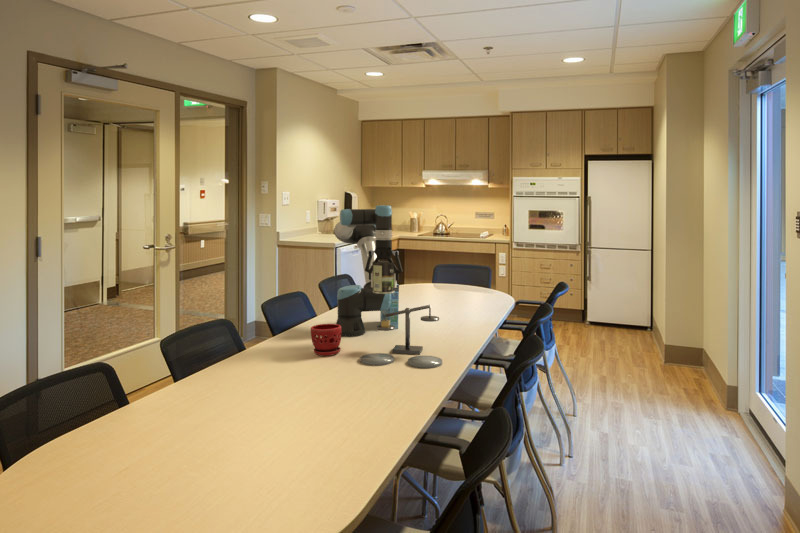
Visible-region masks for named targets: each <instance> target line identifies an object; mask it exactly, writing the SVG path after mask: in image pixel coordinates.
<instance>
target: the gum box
mask: <svg viewBox="0 0 800 533" xmlns="http://www.w3.org/2000/svg"><path fill="white" fill-rule="evenodd" d="M399 296H400V284H398V283H397V287H396V288H395V292H394V293H391V303H390V307H389V309H388V310H383V311H380V318H379V319H380V321H379V322H381V321H382V320H385V314H388V313H393V312H398V311H400V310H399V308H400V307H399V305H400V304H399V303H400V300H399V298H400V297H399ZM386 320H390V325H393V326H395V329H394V330H398V329H399V315H394V316H390V317H386Z"/></svg>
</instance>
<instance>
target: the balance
mask: <svg viewBox="0 0 800 533" xmlns="http://www.w3.org/2000/svg"><path fill="white" fill-rule="evenodd" d="M431 308H432V306H431V304H428V305H421V306H417V307H413V308H410V307H405V309H402V310H399V311H398V312H393V313H388V314H385V320H382V321H380V325H377V326H376V330H377V331H384V332H387V331H388V332H389V331H394V330H396V329H395V326H393V325H390V320H386V317H390V316H394V315H398V316H399V315H403V314H405V318H404V320H405V321H404V322H405V323H404V325H405V327H404V328H405V329H404V330H405V332H404V334H405V336H404V337H405V338H404V340H405V341H404V344H405V345H403V344H402V345H399V344H396V345H394V346H393V348H392V350H391V351H392V354H400V355H415V354H418V355H417V356H421V354H420V353H422V352H423V348H424V347H423V346H422V345H411V312H417V311H421V310H426V309H427V310H429V312H428V315H424V316H423V315H422V316H421V317H420V321H422V322H426V323H427V322H429V323H431V322H432V323H433V322H438V321H440V317H439V316H435V315H431V313H432V310H431Z"/></svg>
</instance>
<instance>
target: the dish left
mask: <svg viewBox="0 0 800 533" xmlns="http://www.w3.org/2000/svg"><path fill="white" fill-rule="evenodd" d="M359 362H360V363H361V364H363V365H366V366H373V365H375V366H378V367H379V366H386V365H390V364H393V363H394V362H395V356H394V355H392V354H388V353H381V352H376V353H375V352H372V353H367V354H363V355H361V356H360V357H359Z"/></svg>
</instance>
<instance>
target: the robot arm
mask: <svg viewBox="0 0 800 533" xmlns="http://www.w3.org/2000/svg"><path fill="white" fill-rule="evenodd" d="M392 220H393V211H392V206H391V205H387V204H386V205H385V204H384V205H383V204H381V205H375V208H364V209H363V208H361V209H360V208H357V209H356V208H346V209H341V210H340V211H339V222H337V223H336V224H335V226H334V229H333V232H334V236H335V238H336V239H338V241H340V242H342V243H344V244H348V245H350V244H353V245H354V244H356V245H357V248H358V249H360V253H361V260H362V265H363V274H364V280H365V284H364V285H363V287H362V286H361V285H360V284H352V285H345V286H342V287H340V288H339V289H338V290H337V293H336V294H337V296H336V299H337V319H336V321H335V324H338V325H340V326H341V337H358V336H363V335H364V334H365V333H366V328H365V325H364V322H363V319H362V312H381V311H383V310H388V309H389V307H390V303H391V293H390V294H377V293H373V263H372V262H378V261H389V263H393V261H394V260H393V258H392V255H393V256H394V259H395V262H396V264H395V265H394V271H395V273H394V288H396V287H397V284H398V282H397V281H399V280H400V276H399V274H400V273H402V272H404V270H403V267H402V263H401V259H400V256H399V254H400V252H399V251H398V250H393V246H392V245H393V240H392V239H393V235H392V234H393V230H392V228H393V221H392ZM396 265H397V266H396Z"/></svg>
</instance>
